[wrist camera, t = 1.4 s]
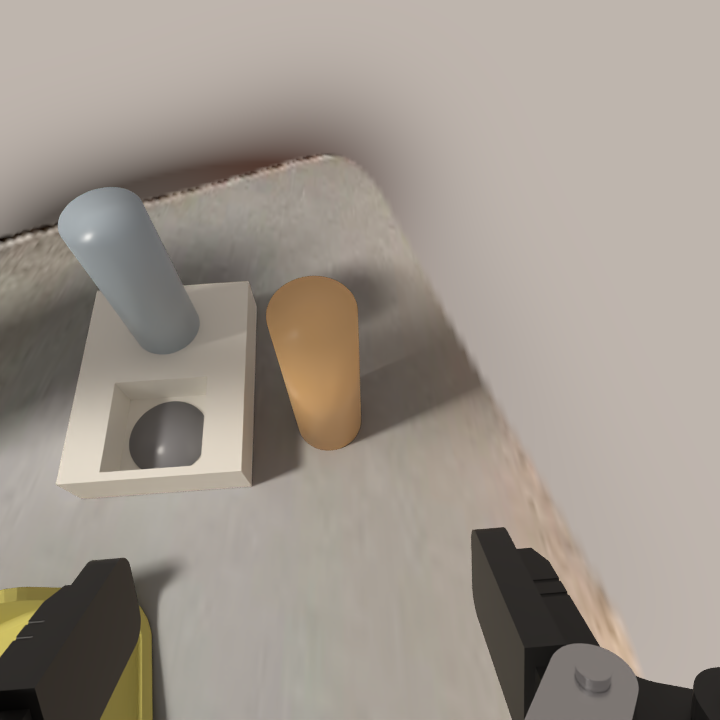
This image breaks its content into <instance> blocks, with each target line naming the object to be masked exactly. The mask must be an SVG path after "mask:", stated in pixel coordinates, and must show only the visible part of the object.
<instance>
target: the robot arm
mask: <svg viewBox="0 0 720 720" xmlns="http://www.w3.org/2000/svg"><path fill="white" fill-rule="evenodd" d="M471 549H472V589H473V598H474V604H475V609H476V613H477V617H478V620H479V623H480V626H481V629H482V632H483V635H484V638H485V641H486V644H487V647H488V649H489V652H490V655H491V658H492V661H493V664H494V667H495V670H496V673H497V676H498V679H499V682H500V685H501V688H502V691H503V694H504V697H505V700H506V703H507V706H508V709H509V712H510V715H511V718H512V720H720V667H717V668H710V669H706V670H704V671H702V672H701V673H699V674H698V675H697V676H696V678H695V681H694V685H693V689H689V688H683V687H678V686H672V685H667V684H661V683H656V682H652V681H648V680H645V679H642V678H639V677H637V676H635V674H634V672H633V671H632V669H631V668H630V667H629V665H628V664H627V663H626V662H625V661H623V660H622V659H621V658H620V657H618V656H617V655H616V654H614V653H612V652H610V651H609V650H606V649H604V648H602V647H600V646H599V644H598V642H597V641H596V639H595V637H594V636H593V634H592V632H591V631H590V629H589V627H588V626H587V624H586V622H585V621H584V619H583V617H582V616H581V614H580V612H579V611H578V609H577V607H576V606H575V604H574V602H573V601H572V599H571V597H570V596H569V595H568V594H567V591H566V589H565V587H564V586H563V584H562V582H561V581H559V577H558V576H557V574H556V572H555V571H554V569H553V567H552V566H551V564H550V562H549V561H548V560H546V559H545V558H544V557H543V556H541V555H540V554H539V553H537V552H536V551H535V550H533V549H532V548H523V549H516V547H515V545H514V543H513V541H512V539H511V538H510V536H509V534H508V532H507V530H506V529H505V528H504V527H501V528H489V529H477V530H472V534H471ZM140 628H141V615H140V609H139V605H138V600H137V595H136V591H135V586H134V581H133V577H132V572H131V568H130V564H129V562H128V560H127V559H126V558H116V559H104V560H92V561H90V562H88V563H87V564H86V566H85V567H84V568H83V570H82V571H81V572H80V574H79V575H78V576H77V578H76V579H75V581H74V582H73V583H72V585H66V586H64V587H62V588H61V589H60V590H58V591H57V592H56V593H55V594H53V595H52V596H51V597H49V598H48V599H47V600H45V601H44V602H43V603H42V604H41V606H40V607H39V608H38V609H37V611H36V612H35V613H34V614H33V616H32V617H31V618H30V620H29V621H28V625H25V626H24V627H23V629H22V630H21V631H20V632H19V634H18V635H17V636H16V640H15V641H12V643H11V644H10V645H9V646H8V648H7V649H6V650H5V651H4V653H3V654H2V655H1V657H0V720H100V718H101V716H102V714H103V712H104V710H105V708H106V706H107V704H108V702H109V700H110V698H111V696H112V694H113V692H114V690H115V687H116V685H117V683H118V681H119V679H120V677H121V675H122V673H123V671H124V669H125V667H126V665H127V663H128V661H129V659H130V657H131V655H132V653H133V650H134V648H135V646H136V644H137V642H138V638H139V634H140Z"/></svg>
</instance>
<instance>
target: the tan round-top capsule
mask: <svg viewBox="0 0 720 720" xmlns="http://www.w3.org/2000/svg"><path fill="white" fill-rule="evenodd" d="M266 322H267V326H268V329H269V332H270V336H271V339H272V342H273V345H274V349H275V352H276V355H277V359H278V362H279V365H280V369H281V372H282V375H283V378H284V382H285V385H286V388H287V392H288V395H289V398H290V402H291V405H292V408H293V411H294V415H295V418H296V421H297V425H298V428H299V431H300V433H301V435H302V437H303V439H304V440H305V441H306V442H307V443H308V444H310V445H311V446H313V447H315V448H317V449H321V450H337V449H340V448H342V447H344V446H346V445H348V444H349V443H350V442H352V440H353V439H354V438H355V437H356V436H357V434H358V432H359V429H360V426H361V399H360V366H359V333H358V307H357V303H356V300H355V298H354V296H353V294H352V293H351V292H350V291H349V289H348V288H346V287H345V286H344V285H343V284H341V283H340V282H338V281H336V280H333V279H331V278H327V277H322V276H307V277H302V278H298V279H295V280H292V281H290V282H288V283H286V284H285V285H283V286H282V287H281V288H280V289H278V290H277V291H276V293H275V294H274V295H273V296H272V298H271V300H270V301H269V304H268V306H267V311H266Z"/></svg>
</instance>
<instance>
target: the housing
mask: <svg viewBox="0 0 720 720" xmlns="http://www.w3.org/2000/svg"><path fill="white" fill-rule="evenodd" d="M58 231H59V234H60V236H61V237H62V239H63V240H64V242H65V243H66V244H67V246H68V247H69V248H70V250H71V251H72V253H73V254H74V255H75V257H76V258H77V259H78V261H79V262H80V263H81V265H82V266H83V268H84V269H85V270H86V272H87V273H88V274H89V276H90V277H91V279H92V280H93V281H94V283H95V284H96V285H97V287H98V288H99V290H100V291H97V293H96V298H95V303H94V307H93V312H92V317H91V321H90V326H89V331H88V335H87V340H86V345H85V349H84V354H83V359H82V364H81V368H80V373H79V378H78V382H77V387H76V392H75V396H74V401H73V406H72V410H71V415H70V420H69V425H68V429H67V434H66V439H65V443H64V448H63V453H62V457H61V462H60V467H59V471H58V476H57V481H56V485H57V486H59V487H61V488H63V489H65V490H66V491H68V492H70V493H72V494H74V495H75V496H77V497H79V498H81V499H90V498H104V497H117V496H131V495H144V494H157V493H171V492H184V491H198V490H211V489H225V488H238V487H251V486H252V459H253V425H254V390H255V356H256V321H257V306H256V303H255V300H254V296H253V293H252V290H251V287H250V284H249V281H242V282H227V283H212V284H197V285H183V284H182V282H181V280H180V278H179V276H178V274H177V272H176V269H175V267H174V265H173V263H172V261H171V259H170V257H169V255H168V253H167V251H166V249H165V247H164V245H163V243H162V241H161V239H160V237H159V235H158V233H157V231H156V229H155V227H154V225H153V223H152V221H151V219H150V217H149V215H148V213H147V211H146V209H145V207H144V205H143V203H142V201H141V199H140V198H139V197H138V196H137V195H136V194H135V193H133V192H131V191H129V190H127V189H123V188H117V187H107V188H99V189H95V190H92V191H89V192H86V193H84V194H82V195H81V196H79V197H77V198H76V199H74V200H73V201H72V202H71V203H69V204H68V205H67V206H66V208H65V209H64V210H63V212H62V214H61V216H60V218H59V221H58Z"/></svg>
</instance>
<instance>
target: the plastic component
mask: <svg viewBox="0 0 720 720" xmlns="http://www.w3.org/2000/svg"><path fill="white" fill-rule="evenodd" d="M60 589H61V588H49V587H18V588H10V589H4V590H0V657H1V655H2V654H3V653H4V651H5V650H6V649H7V648H8V646H9V645H10V644H11V643H12V641H15V640H16V636H17V635H18V634H19V632H20V631H21V630H22V629H23V627H24V626H25V625H28V621H29V620H30V618H31V617H32V616H33V614H34V613H35V612H36V611H37V609H38V608H39V607H40V606H41V604H42V603H43V602H44V601H45V600H47V599H48V598H49V597H51V596H52V595H53V594H55V593H56V592H57V591H58V590H60ZM139 609H140V615H141V628H140V634H139V638H138V642H137V644H136V646H135V648H134V650H133V653H132V655H131V657H130V659H129V661H128V663H127V665H126V667H125V669H124V671H123V673H122V675H121V677H120V679H119V681H118V683H117V685H116V687H115V690H114V692H113V694H112V696H111V698H110V700H109V702H108V704H107V706H106V708H105V710H104V712H103V714H102V716H101V718H100V720H153V713H152V633H151V629H150V626H149V622H148V619H147V617H146V615H145V614H144V612H143V610H142V608H141V607H140V606H139Z"/></svg>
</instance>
